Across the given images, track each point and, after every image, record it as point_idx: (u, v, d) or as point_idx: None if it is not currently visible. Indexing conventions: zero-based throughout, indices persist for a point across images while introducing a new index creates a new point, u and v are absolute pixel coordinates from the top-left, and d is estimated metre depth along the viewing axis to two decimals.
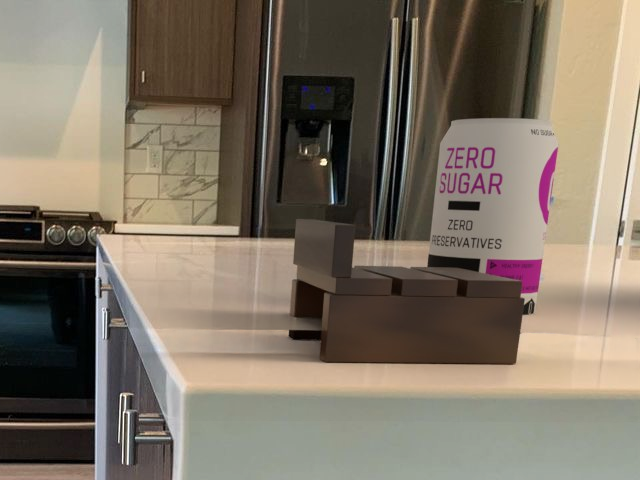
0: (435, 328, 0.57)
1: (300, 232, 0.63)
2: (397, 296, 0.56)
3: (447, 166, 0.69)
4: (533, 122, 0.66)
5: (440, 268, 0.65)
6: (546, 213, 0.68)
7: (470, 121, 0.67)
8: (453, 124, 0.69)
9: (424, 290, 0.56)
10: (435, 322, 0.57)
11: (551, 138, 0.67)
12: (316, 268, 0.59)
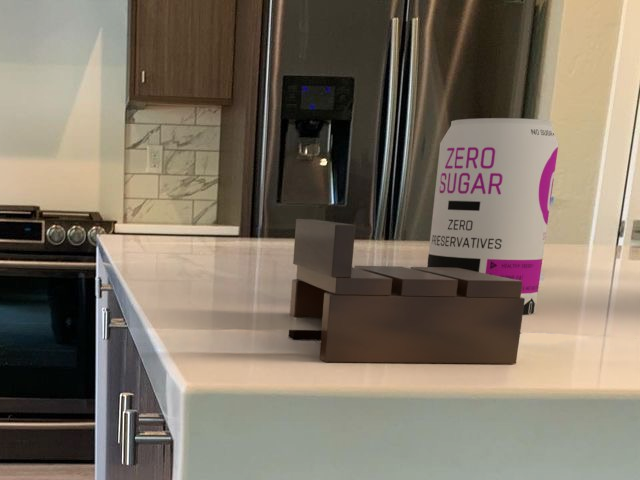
0: (435, 328, 0.57)
1: (300, 232, 0.63)
2: (397, 296, 0.56)
3: (447, 166, 0.69)
4: (533, 122, 0.66)
5: (440, 268, 0.65)
6: (546, 213, 0.68)
7: (470, 121, 0.67)
8: (453, 124, 0.69)
9: (424, 290, 0.56)
10: (435, 322, 0.57)
11: (551, 138, 0.67)
12: (316, 268, 0.59)
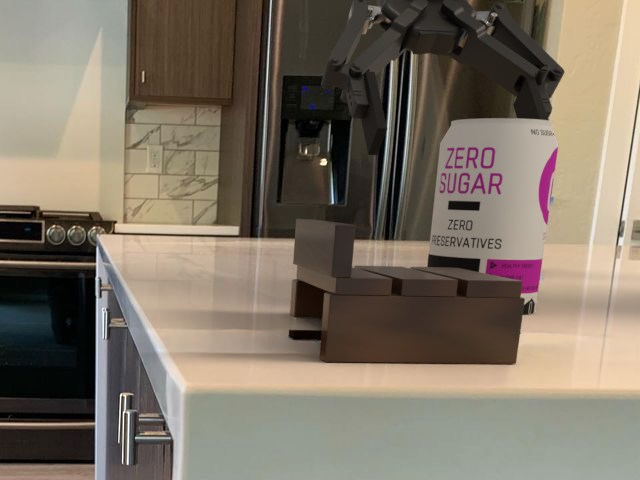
0: (435, 328, 0.57)
1: (300, 232, 0.63)
2: (397, 296, 0.56)
3: (447, 166, 0.69)
4: (533, 122, 0.66)
5: (440, 268, 0.65)
6: (546, 213, 0.68)
7: (470, 121, 0.67)
8: (453, 124, 0.69)
9: (424, 290, 0.56)
10: (435, 322, 0.57)
11: (551, 138, 0.67)
12: (316, 268, 0.59)
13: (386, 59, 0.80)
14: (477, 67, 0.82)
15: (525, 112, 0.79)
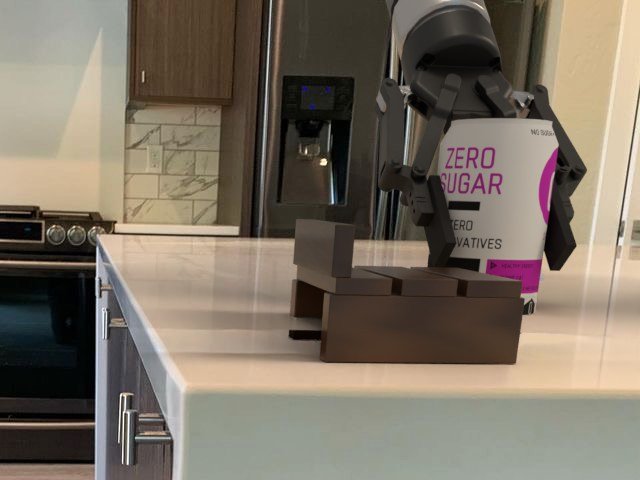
0: (435, 328, 0.57)
1: (300, 232, 0.63)
2: (397, 296, 0.56)
3: (447, 166, 0.69)
4: (533, 122, 0.66)
5: (440, 268, 0.65)
6: (546, 213, 0.68)
7: (470, 121, 0.67)
8: (453, 124, 0.69)
9: (424, 290, 0.56)
10: (435, 322, 0.57)
11: (551, 138, 0.67)
12: (316, 268, 0.59)
13: None
14: None
15: None
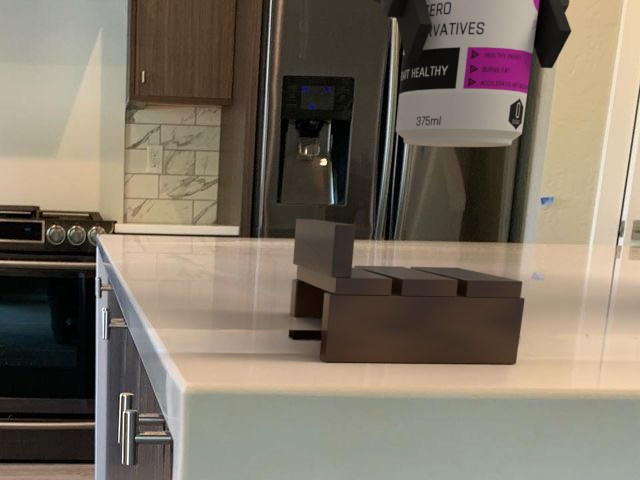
0: (435, 328, 0.57)
1: (300, 232, 0.63)
2: (397, 296, 0.56)
3: None
4: None
5: (440, 268, 0.65)
6: None
7: None
8: None
9: (424, 290, 0.56)
10: (435, 322, 0.57)
11: None
12: (316, 268, 0.59)
13: None
14: None
15: None
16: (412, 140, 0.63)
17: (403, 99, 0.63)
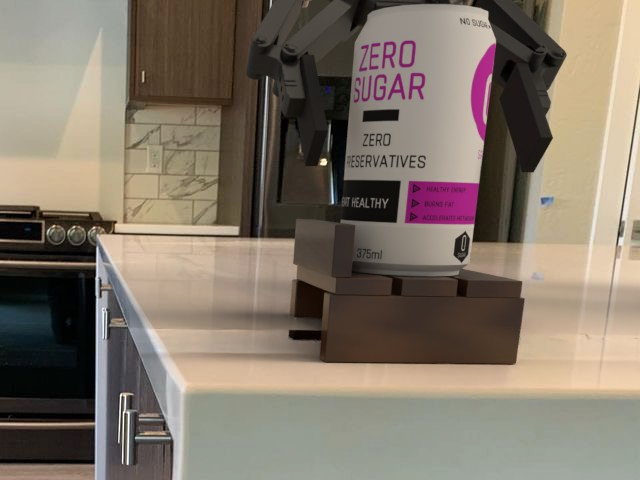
0: (435, 328, 0.57)
1: (300, 232, 0.63)
2: (397, 296, 0.56)
3: (361, 69, 0.56)
4: (463, 9, 0.53)
5: None
6: (482, 126, 0.56)
7: (387, 10, 0.55)
8: (369, 18, 0.57)
9: (424, 290, 0.56)
10: (435, 322, 0.57)
11: (486, 31, 0.54)
12: (316, 268, 0.59)
13: (331, 39, 0.61)
14: None
15: (515, 108, 0.59)
16: (354, 270, 0.60)
17: None
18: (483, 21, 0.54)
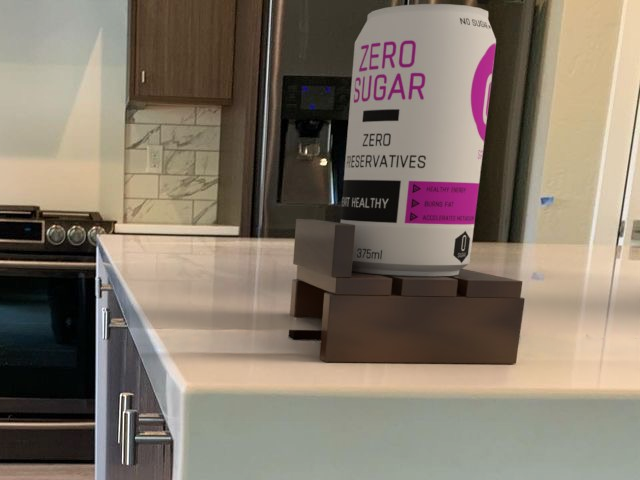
0: (435, 328, 0.57)
1: (300, 232, 0.63)
2: (397, 296, 0.56)
3: (361, 69, 0.56)
4: (463, 9, 0.53)
5: None
6: (482, 126, 0.56)
7: (387, 10, 0.55)
8: (369, 18, 0.57)
9: (424, 290, 0.56)
10: (435, 322, 0.57)
11: (486, 31, 0.54)
12: (316, 268, 0.59)
13: None
14: None
15: None
16: (354, 270, 0.60)
17: None
18: (483, 21, 0.54)
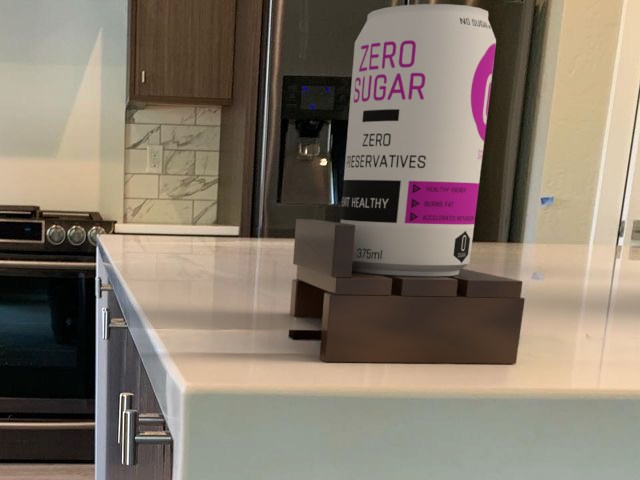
0: (435, 328, 0.57)
1: (300, 232, 0.63)
2: (397, 296, 0.56)
3: (361, 69, 0.56)
4: (463, 9, 0.53)
5: None
6: (482, 126, 0.56)
7: (387, 10, 0.55)
8: (369, 18, 0.57)
9: (424, 290, 0.56)
10: (435, 322, 0.57)
11: (486, 31, 0.54)
12: (316, 268, 0.59)
13: None
14: None
15: None
16: (354, 270, 0.60)
17: None
18: (483, 21, 0.54)
